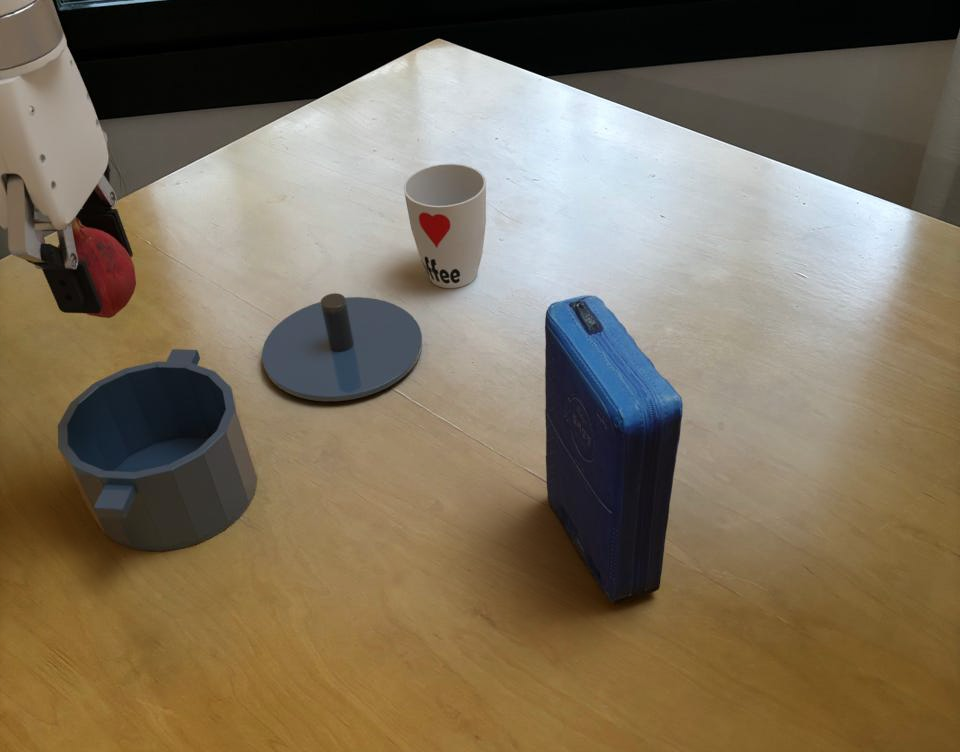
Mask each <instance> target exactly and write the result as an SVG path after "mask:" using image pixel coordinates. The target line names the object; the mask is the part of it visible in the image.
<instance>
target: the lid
mask: <svg viewBox="0 0 960 752" xmlns="http://www.w3.org/2000/svg"><path fill="white" fill-rule="evenodd" d="M422 349H423V334H422V330H421V328H420V325H419V323H418V321H417V320H416V319H415V318H414V317H413V315H411V314H410V313H409V312H408V311H407V310H406V309H404V308H402V307H401V306H398V305H396V304H394V303H392V302H389V301H386V300H384V299H383V300H382V299H378V298H372V297H361V296H353V297H352V296H348V297H345V296H344V295H343V294H341V293H338V292H337V293H336V292H335V293H329V294H326V295H324V296H322V298H321V299H320V301H319V302H316V303H313V304H310V305H307V306H304V307H303V308H301V309H298V310H296V311H294V312H293V313H291V314H289V315H288V316H287V317H285V318H284V319H283V320H281V321H280V322H278V323H277V324H276V326H275V327H273V329H271V331H270V333H269V334H268V335H267V337H266V339H265V341H264V343H263V347H262V352H261V361H262V366H263V368H264V371H265V374H266V375H267V377H268V378H269V380H270V381H271V382H272V383H273V384H274V385H275V386H276V387H277V388H279V389H280V390H281V391H284V392H285V393H288V394H290V395H292V396H295V397H297V398H301V399H304V400H310V401H314V402H315V401H317V402H341V401H342V402H344V401H350V400H356V399H360V398H364V397H368V396H371V395H373V394H376V393H379V392H381V391H383V390H386V389H387V388H389V387H391V386H392V385H395V384H396V383H397V382H399V381H400V380H401V379H403V378H404V377H405V376H407V374H408V373H410V371H411V370H412V369H413V368H414V366H415V365H416V364H417V362H418V360H419V359H420V356H421V354H422Z"/></svg>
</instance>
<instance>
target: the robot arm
mask: <svg viewBox="0 0 960 752" xmlns="http://www.w3.org/2000/svg"><path fill="white" fill-rule="evenodd" d="M109 159H110V158H109V151H108V136H107V132H106V131H105V130H104V129H103V128H102V127H101V124H100V121H99V119H98V116H97V113H96V109H95V107H94V104H93V102H92V100H91V97H90V95H89V92H88V90H87V87H86V85H85V82H84V80H83V78H82V76H81V72H80V70H79V69H78V66H77V63H76V62H75V59H74V57H73V55H72V53H71V51H70V49H69V47H68V43H67V38H66V35H65V33H64V30H63V27H62V25H61V21H60V18H59V16H58V13H57V10H56V7H55V3H54V1H53V0H0V227H1V228H2V229H3V230H7V247H8V252H9V253H10V254H11V255H12V256H13V257H17V258H19V259H22V260H24V261H26V262H27V263H30V264H32V265H34V267H35V268H36V269H38V270H42V273H43V276H44V277H45V280H46V281H47V284H48V286H49V289H50V291H51V293H52V295H53V299H54V300H55V302H56V305H57V307H58V309H59V310H60V311H61V312H62V313H65V314H86V313H95V314H97V313H100V311H101V310H102V308H103V305H102V302H101V300H100V297H99V295H98V292H97V290H96V287H95V285H94V282H93V280H92V277H91V275H90V272H89V270H88V267H87V265H86V262H85V261H78V257H77V252H76V246H75V241H74V236H73V231H72V226H71V221H72V220H73V219H74V218H76V219H79V220H80V223H81V224H82V225H84V226H85V227H89V228H94V229H98V230H101V231H103V232H105V233H108V234H109V235H111V236H112V237H114V238H115V239H116V240H117V241H118V242H119V243H120V244H121V245H122V246H123V247H124V248H125V249H126V251H127V252H128V254H129V255H130V257H131V258H132V257H133V256H134V252H133V250H132V247H131V244H130V241H129V238H128V236H127V234H126V231H125V228H124V224H123V222H122V219H121V217H120V216H121V215H120V213H119V211H118V209H117V208H115V207H116V206H117V202H118V200H117V194H116V192H115V190H114V189H113V187H112V186H111V168H110V167H111V165H110V164H109ZM39 212H40V213H41V214H42V216H44V217H48V218H39V216H38V213H39ZM44 232H56V235H57V240H58V245H60V248H58V246H56V245H53V244H51V243H46V240H45V236H44Z"/></svg>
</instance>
